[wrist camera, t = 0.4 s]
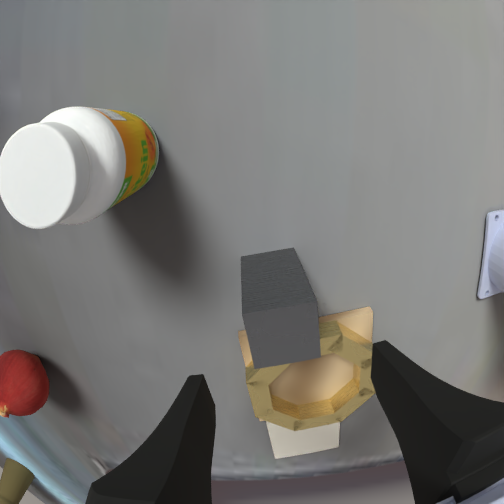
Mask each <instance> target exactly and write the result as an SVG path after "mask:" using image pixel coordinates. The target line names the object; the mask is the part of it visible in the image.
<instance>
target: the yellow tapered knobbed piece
mask: <svg viewBox="0 0 504 504" xmlns="http://www.w3.org/2000/svg"><path fill="white" fill-rule="evenodd" d="M33 479H34V475H33V473H32V472H31V471H30V470H28V469H27V468H26V467H24V466H23V465H22V464H20V463H18V462H16V461H15V460H12V459H9V458H7V459H6V462H5V465H4V469H3V473H2V476H1V480H0V504H19V502H20V500H21V499H22V497H23V495H24V494H25V492H26V490H27V489H28V487H29V486H30V484H31V482H32V481H33Z"/></svg>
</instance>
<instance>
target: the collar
mask: <svg viewBox="0 0 504 504" xmlns="http://www.w3.org/2000/svg"><path fill="white" fill-rule="evenodd" d="M319 334H320V349H321V355H326V354H331V353H335V354H337V355H339V356H341V357H343V358H344V359H346V360H348V361H350V362H352V363H354V365H353V378H352V379H351V380H350V381H349V382H348V383H347V384H346V385H345V386H344V387H342V388H341V389H340V390H339V391H338V392H337V393H336V394H335V395H334V396H332V397H331V398H330V399H326V400H321V401H316V402H311V403H306V404H301V405H296V404H294V403H291V402H289V401H286V400H284V399H282V398H279V397H277V396H275V395H272V394H271V390H270V385H269V384H270V383H271V382H272V381H274V380H275V379H276V378H277V377H278V376H279V375H280V374H281V373H282V372H283V371H284V370H285V369H286V368H287V367H288V366H289V365H290V364H291V363H289V364H284V365H278V366H272V367H265V368H259V369H254V365H253V360H252V361H251V362H250V363H249V364H248V365H247V366H246V383H247V387H248V391H249V395H250V398H251V402H252V406H253V409H254V413H255V417H257V418H260V419H262V420H265V421H267V422H270V423H273V424H276V425H278V426H281V427H284V428H287V429H290V430H292V431H299V430H304V429H309V428H314V427H319V426H324V425H329V424H333V423H338V422H342V421H343V420H344V419H345V418H346V417H348V416H349V415H350V414H351V413H353V412H354V411H355V410H356V409H357V408H358V407H360V406H361V405H362V404H363V403H364V402H366V401H367V400H368V399H369V398H370V397H371V396H372V395H373V394H375V393H376V392H375V389H374V386H373V383H372V380H371V364H372V347H373V344H372V342H370V341H369V340H367V339H365V338H364V337H362V336H360V335H359V334H357V333H356V332H354V331H352V330H351V329H349V328H347V327H346V326H344V325H343V324H341V323H339V322H338V321H336V320H334V321H329V322H324V323H319Z"/></svg>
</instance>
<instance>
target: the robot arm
mask: <svg viewBox="0 0 504 504" xmlns="http://www.w3.org/2000/svg"><path fill="white" fill-rule="evenodd" d="M495 216H496V218H495ZM500 292H504V209H503V210H497V211H492V212H489V213H488V214H487V218H486V231H485V242H484V251H483V260H482V268H481V275H480V281H479V287H478V293H477V296H478V297H479V298H480V299H483V298H486V297H489V296H492V295H495V294H498V293H500ZM371 380H372V383H373V386H374V389H375V392H376V395H377V398H378V400H379V402H380V404H381V406H382V408H383V410H384V412H385V414H386V416H387V418H388V420H389V422H390V424H391V426H392V428H393V430H394V432H395V434H396V437H397V439H398V442H399V445H400V448H401V451H402V454H403V457H404V460H405V464H406V467H407V471H408V474H409V478H410V482H411V486H412V490H413V495H414V500H415V504H504V403H503V402H498V401H493V400H489V399H486V398H482V397H479V396H476V395H473V394H470V393H468V392H465V391H463V390H460V389H458V388H456V387H454V386H452V385H450V384H448V383H446V382H444V381H442V380H440V379H438V378H437V377H435V376H434V375H432V374H430V373H429V372H427V371H426V370H424V369H423V368H421V367H420V366H419V365H417V364H416V363H414V362H413V361H412V360H410V359H409V358H408V357H406V356H405V355H404V354H403V353H401V352H400V351H399V350H398V349H396V348H395V347H394V346H393V345H391V344H390V343H389V342H387V341H386V340H385V341H381V342H377V343H373V347H372V364H371ZM215 428H216V415H215V404H214V401H213V399H212V396H211V393H210V391H209V388H208V385H207V383H206V380H205V378H204V375H203V374H201V375H191V376H189V377H188V378H187V380H186V382H185V384H184V385H183V387H182V389H181V391H180V393H179V394H178V396H177V398H176V399H175V401H174V403H173V404H172V406H171V407H170V409H169V410H168V412H167V414H166V415H165V416H164V418H163V419H162V421H161V422H160V423H159V425H158V426H157V427H156V429H155V430H154V431H153V433H152V434H151V435H150V436H149V437H148V438H147V440H146V441H145V442H144V443H143V444H142V445H141V446H140V447H139V448H138V449H137V450H136V451H135V452H134V453H133V454H132V455H131V456H130V457H129V458H127V459H126V460H125V461H124V462H123V463H121V464H120V465H119V466H117V467H116V468H115V469H113V470H112V471H111V472H109V473H108V474H106V475H104V476H103V477H101V478H100V479H98V480H96V481H95V482H93V483H92V484H91V487H90V489H89V493H88V496H87V500H86V504H212V500H211V499H212V498H211V466H212V456H213V447H214V438H215Z"/></svg>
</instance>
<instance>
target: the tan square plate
mask: <svg viewBox="0 0 504 504" xmlns="http://www.w3.org/2000/svg"><path fill="white" fill-rule="evenodd" d="M318 320H319V323H324V322H329V321H334V320H336V321H338V322H339V323H341V324H343V325H344V326H346V327H347V328H349V329H351V330H352V331H354V332H356V333H357V334H359V335H360V336H362V337H364V338H365V339H367V340H369V341H370V342H372V325H373V311H372V310H371V308H370V307H365V308H360V309H356V310H351V311H346V312H341V313H337V314H332V315H327V316H322V317H318ZM238 334H239V341H240V346H241V350H242V354H243V358H244V362H245V366H247V365H248V364H249V363H250V362H251V361H252V356H251V352H250V347H249V343H248V338H247V334H246V330H242V331H238ZM353 365H354V363H352V362H350V361H348V360H346V359H344V358H343V357H341V356H339V355H337V354H335V353H331V354H326V355H321V358H316V359H311V360H306V361H300V362H295V363H291V364H290V365H289V366H288V367H287V368H286V369H285V370H284V371H283V372H282V373H281V374H280V375H279V376H278V377H277V378H276V379H275V380H274V381H272V382H271V383H270V384H269V385H270V390H271V394H272V395H275V396H277V397H279V398H282V399H284V400H286V401H289V402H291V403H294V404H296V405H301V404H306V403H311V402H316V401H321V400H326V399H330V398H331V397H332V396H334V395H335V394H336V393H337V392H338V391H339V390H340V389H341V388H342V387H344V386H345V385H346V384H347V383H348V382H349V381H350V380H351V379H352V378H353ZM259 420H260V421H265V420H262V419H260V418H259Z"/></svg>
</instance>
